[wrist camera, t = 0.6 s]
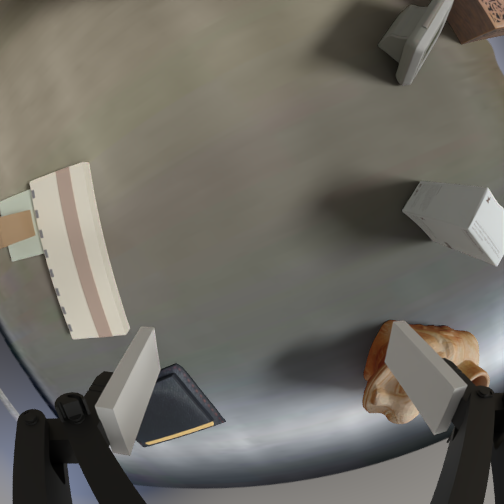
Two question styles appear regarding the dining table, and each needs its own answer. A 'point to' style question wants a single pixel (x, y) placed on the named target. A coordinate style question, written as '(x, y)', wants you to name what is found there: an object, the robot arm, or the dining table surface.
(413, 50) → the digital clock
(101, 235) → the pad
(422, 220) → the skincare box
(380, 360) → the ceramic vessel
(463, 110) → the dining table surface
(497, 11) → the tissue box cover
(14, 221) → the stub
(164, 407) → the wallet
